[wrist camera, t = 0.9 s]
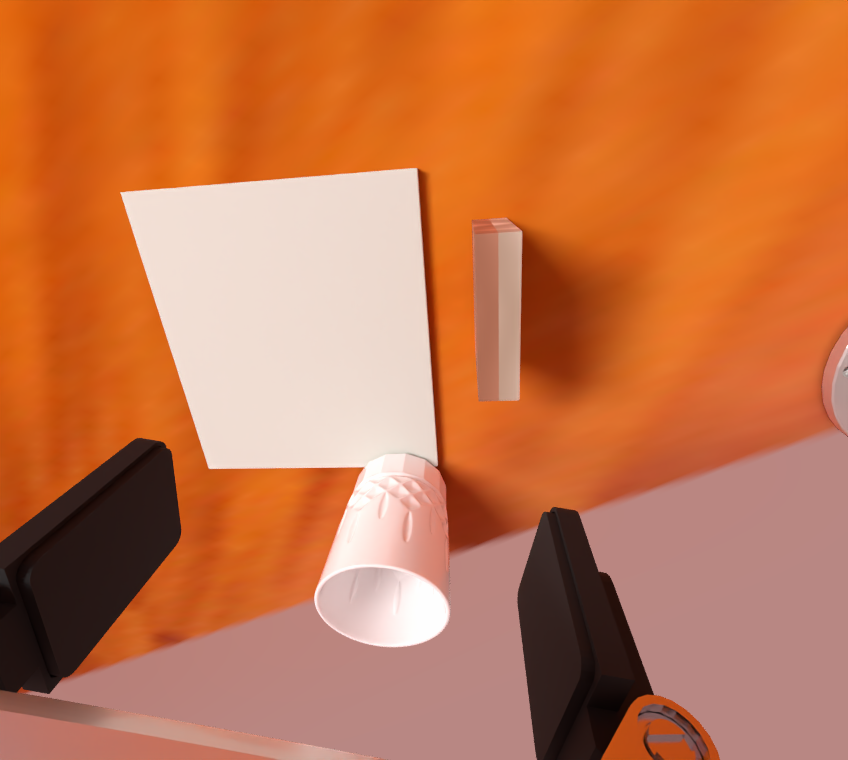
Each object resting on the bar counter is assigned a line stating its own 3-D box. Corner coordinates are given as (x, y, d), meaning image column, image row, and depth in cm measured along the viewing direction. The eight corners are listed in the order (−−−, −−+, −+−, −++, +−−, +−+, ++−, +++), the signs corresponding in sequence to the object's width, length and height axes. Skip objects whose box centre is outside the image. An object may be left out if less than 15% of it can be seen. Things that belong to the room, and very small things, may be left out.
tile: (506, 217, 26) (522, 231, 19) (505, 345, 29) (519, 400, 22) (472, 220, 26) (474, 234, 19) (475, 347, 29) (478, 401, 22)
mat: (417, 168, 25) (416, 168, 25) (438, 461, 33) (437, 466, 33) (127, 192, 27) (120, 192, 27) (213, 464, 35) (209, 468, 35)
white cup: (417, 429, 31) (400, 548, 22) (472, 501, 34) (475, 628, 26) (331, 470, 34) (286, 590, 25) (389, 533, 37) (367, 658, 28)
